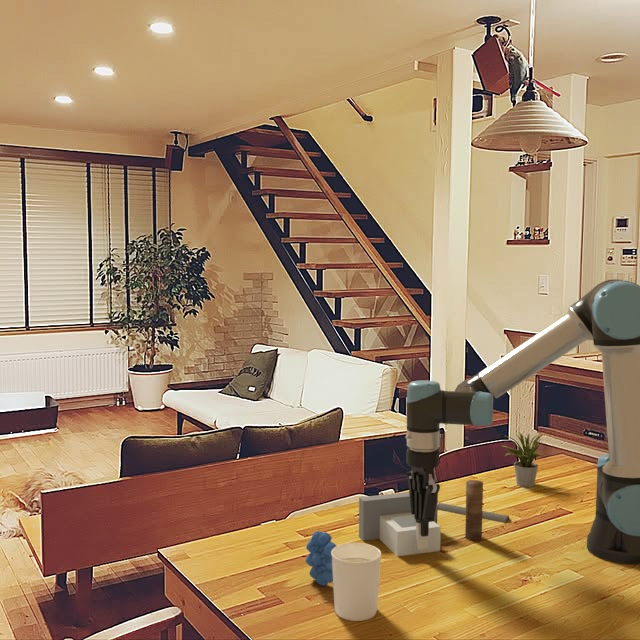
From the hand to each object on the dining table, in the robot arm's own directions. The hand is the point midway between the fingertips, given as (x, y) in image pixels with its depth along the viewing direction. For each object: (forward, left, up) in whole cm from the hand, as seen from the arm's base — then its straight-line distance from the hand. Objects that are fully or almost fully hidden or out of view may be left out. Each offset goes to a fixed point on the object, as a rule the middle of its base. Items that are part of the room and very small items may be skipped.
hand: (422, 548), depth 172 cm
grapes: (-7, +26, -2) cm, 27 cm away
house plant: (+41, -54, -2) cm, 68 cm away
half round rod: (+22, -25, -3) cm, 33 cm away
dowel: (+7, -17, -2) cm, 19 cm away
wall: (+14, 0, -2) cm, 14 cm away
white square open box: (+7, 0, -2) cm, 8 cm away
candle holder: (-20, +24, -2) cm, 31 cm away
